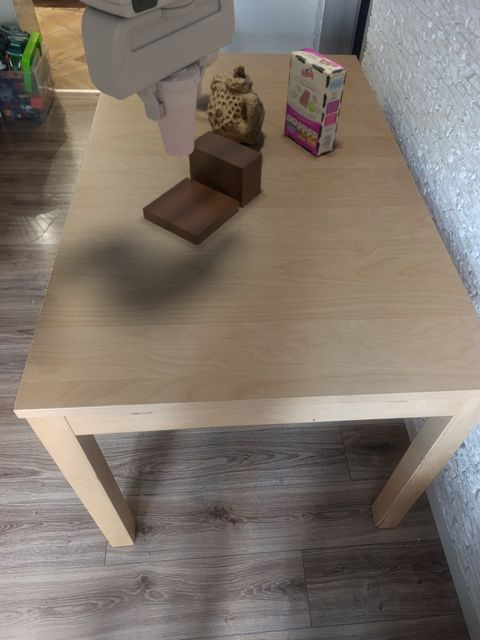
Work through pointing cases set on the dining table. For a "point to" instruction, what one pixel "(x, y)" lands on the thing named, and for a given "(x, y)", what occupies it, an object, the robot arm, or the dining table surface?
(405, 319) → the dining table surface
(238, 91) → the teapot
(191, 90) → the smoothie
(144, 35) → the robot arm
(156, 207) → the step shelf
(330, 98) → the candy bar box
